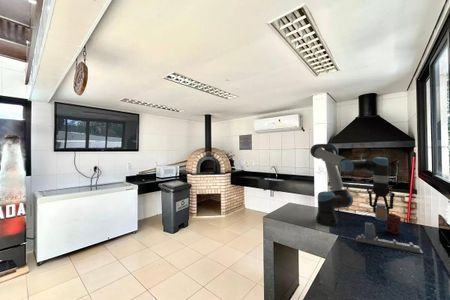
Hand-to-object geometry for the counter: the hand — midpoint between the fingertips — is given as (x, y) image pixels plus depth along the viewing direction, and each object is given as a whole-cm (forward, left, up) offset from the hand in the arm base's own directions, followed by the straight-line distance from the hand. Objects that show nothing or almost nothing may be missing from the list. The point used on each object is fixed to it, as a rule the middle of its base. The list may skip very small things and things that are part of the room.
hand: (380, 218), depth 121 cm
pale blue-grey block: (0, 0, 0) cm, 0 cm away
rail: (+1, -8, -13) cm, 16 cm away
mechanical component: (+8, +16, -13) cm, 22 cm away
